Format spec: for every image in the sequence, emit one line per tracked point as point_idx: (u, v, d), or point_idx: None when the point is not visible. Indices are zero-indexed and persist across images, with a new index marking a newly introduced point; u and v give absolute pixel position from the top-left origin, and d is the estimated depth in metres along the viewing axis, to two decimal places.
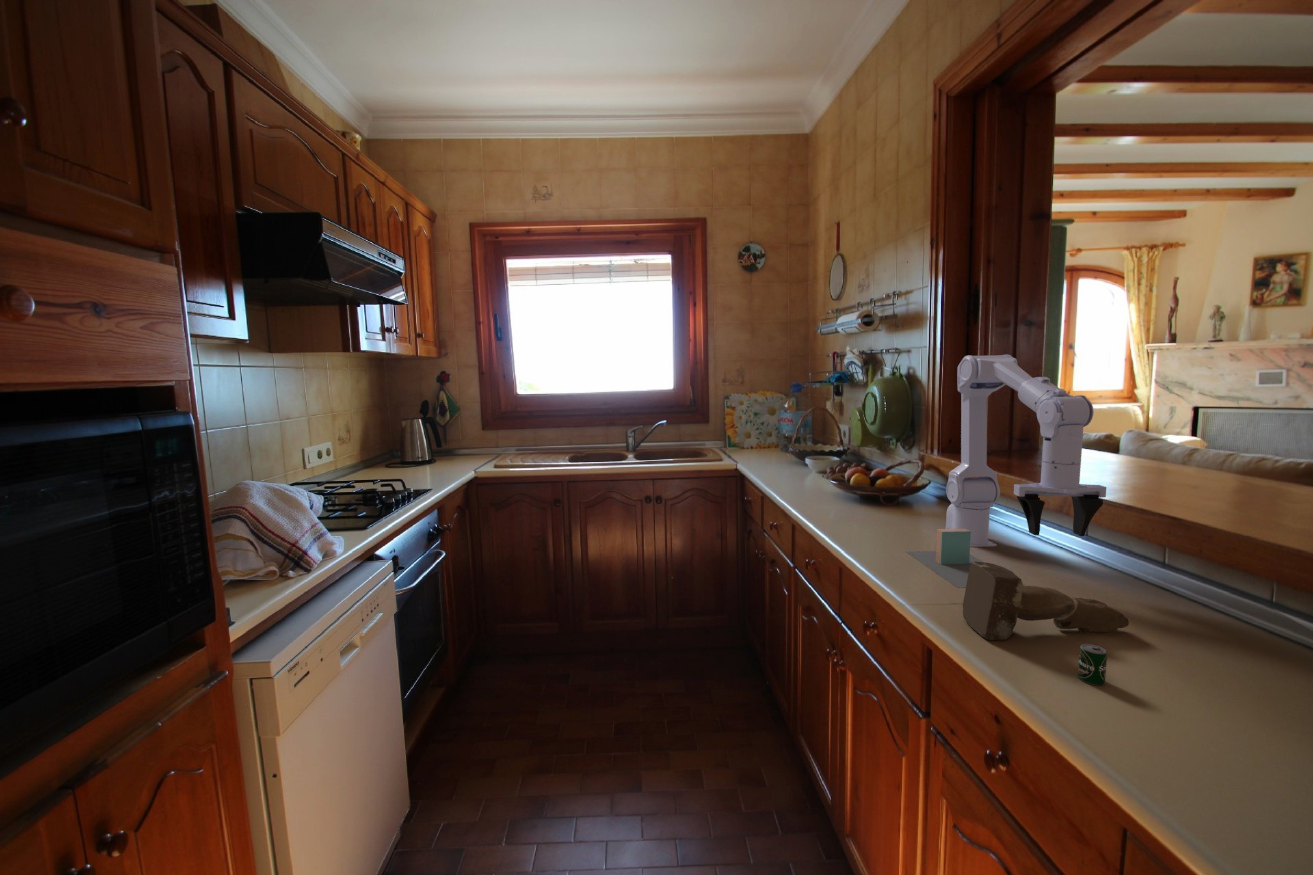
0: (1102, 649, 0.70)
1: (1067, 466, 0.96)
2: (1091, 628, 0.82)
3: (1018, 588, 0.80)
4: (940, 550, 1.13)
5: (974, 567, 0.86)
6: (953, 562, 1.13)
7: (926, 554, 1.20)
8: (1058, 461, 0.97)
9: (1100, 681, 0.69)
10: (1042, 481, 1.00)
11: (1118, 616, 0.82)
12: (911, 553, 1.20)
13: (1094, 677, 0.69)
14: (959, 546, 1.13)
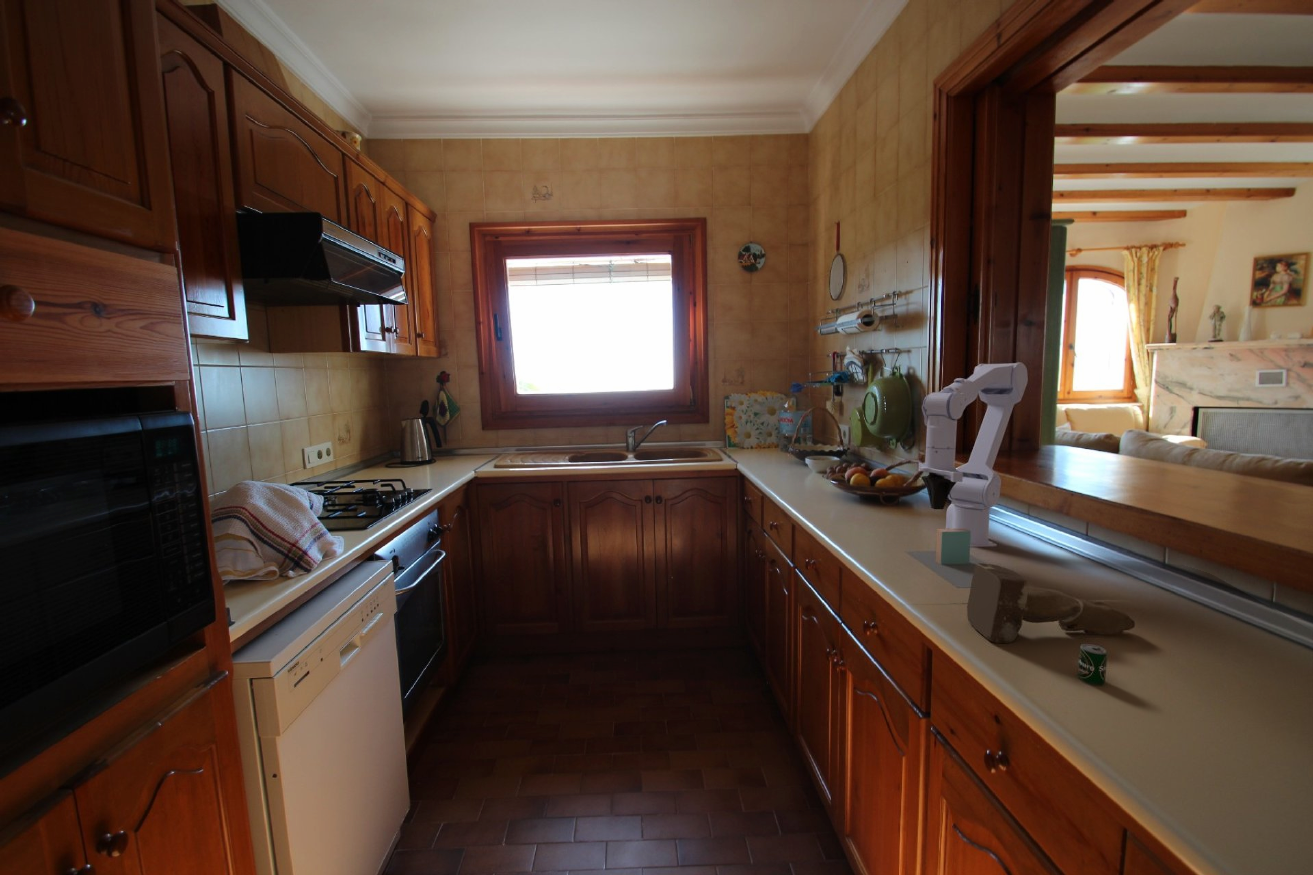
0: (1102, 649, 0.70)
1: (926, 448, 1.18)
2: (1097, 630, 0.82)
3: (1023, 590, 0.79)
4: (940, 550, 1.13)
5: (979, 569, 0.85)
6: (953, 562, 1.13)
7: (926, 554, 1.20)
8: (926, 445, 1.19)
9: (1100, 681, 0.69)
10: None
11: (1124, 618, 0.81)
12: (911, 553, 1.20)
13: (1094, 677, 0.69)
14: (959, 546, 1.13)
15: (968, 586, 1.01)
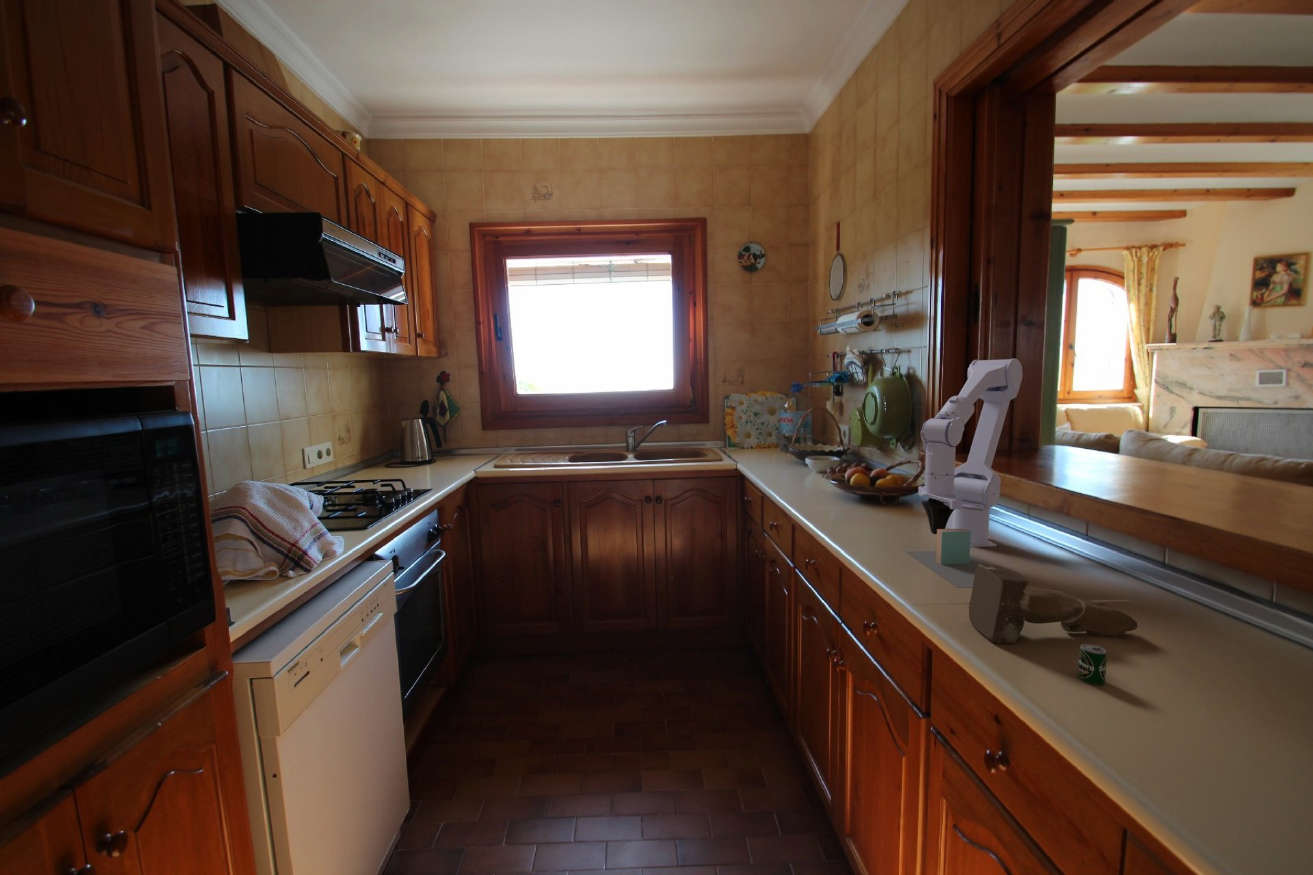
0: (1102, 649, 0.70)
1: (925, 474, 1.19)
2: (1099, 631, 0.81)
3: (1026, 591, 0.79)
4: (940, 550, 1.13)
5: (980, 569, 0.85)
6: (953, 562, 1.13)
7: (926, 554, 1.20)
8: (925, 470, 1.19)
9: (1100, 681, 0.69)
10: None
11: (1126, 619, 0.81)
12: (911, 553, 1.20)
13: (1094, 677, 0.69)
14: (959, 546, 1.13)
15: (968, 586, 1.01)
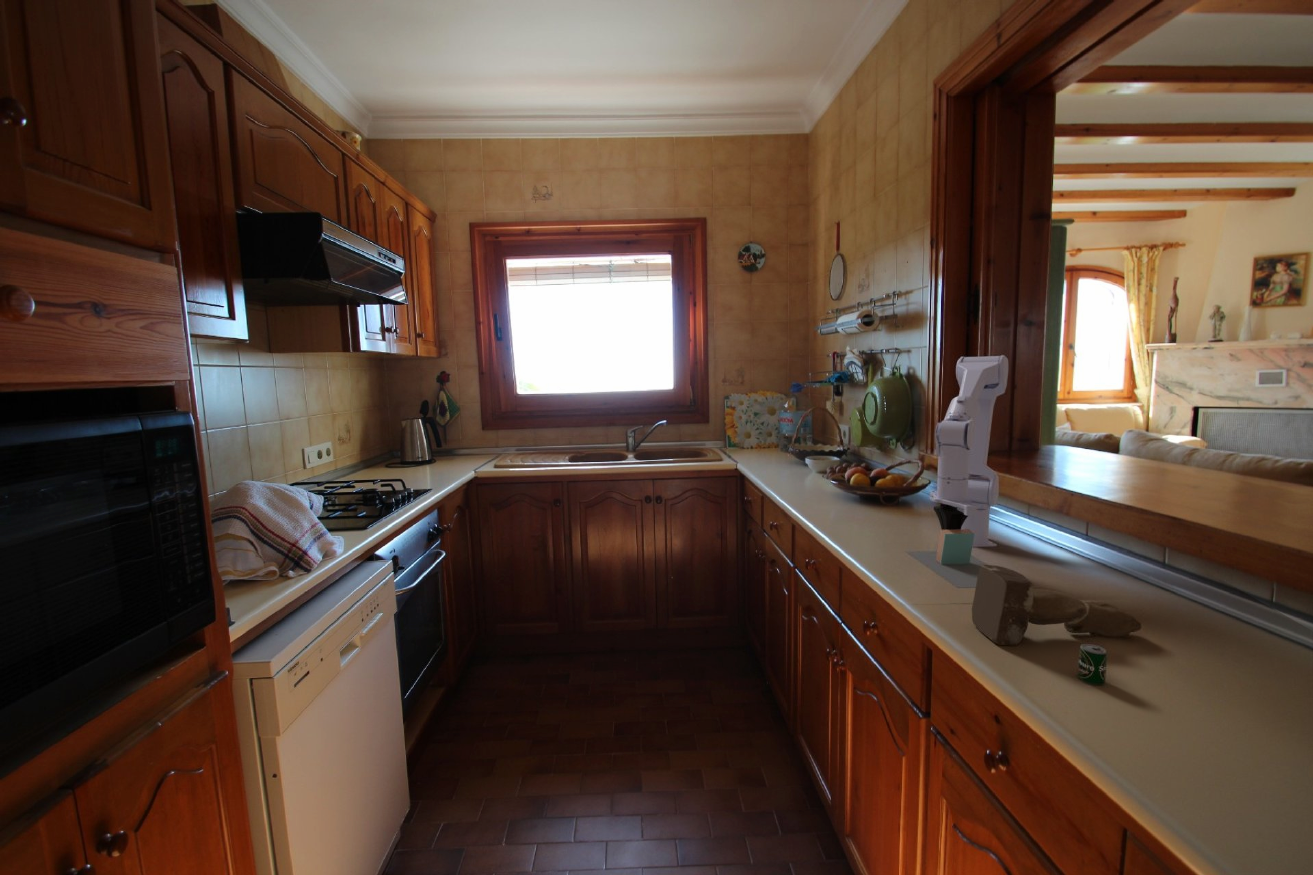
0: (1102, 649, 0.70)
1: (938, 478, 1.14)
2: (1103, 632, 0.81)
3: (1029, 592, 0.79)
4: (941, 551, 1.13)
5: (984, 570, 0.84)
6: (953, 562, 1.13)
7: (926, 554, 1.20)
8: (939, 475, 1.13)
9: (1100, 681, 0.69)
10: None
11: (1130, 620, 0.80)
12: (911, 553, 1.20)
13: (1094, 677, 0.69)
14: (960, 547, 1.12)
15: (968, 586, 1.01)
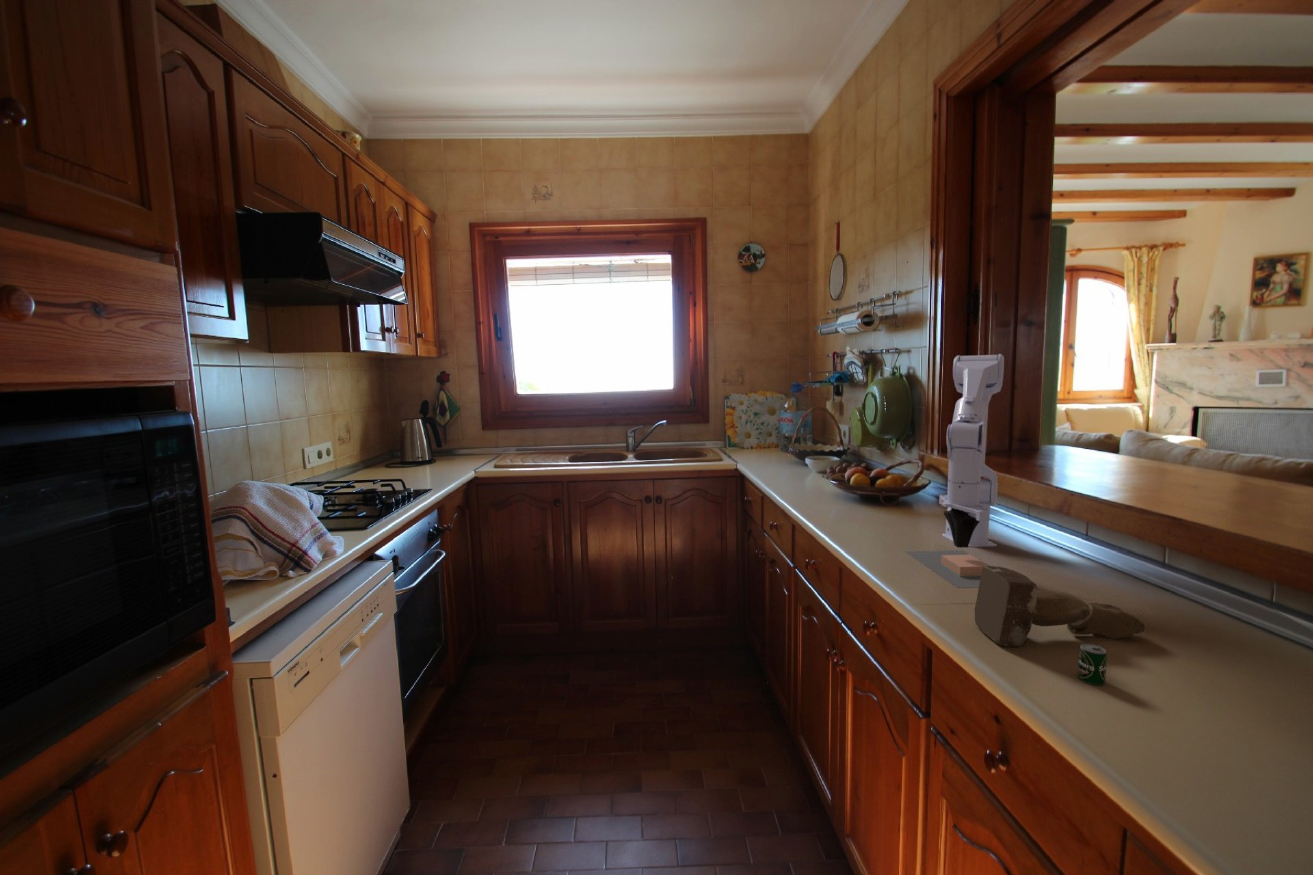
0: (1102, 649, 0.70)
1: (948, 482, 1.10)
2: (1106, 634, 0.81)
3: (1033, 593, 0.78)
4: (948, 567, 1.10)
5: (987, 571, 0.84)
6: None
7: (926, 554, 1.20)
8: (951, 479, 1.09)
9: (1100, 681, 0.69)
10: None
11: (1134, 622, 0.80)
12: (911, 553, 1.20)
13: (1094, 677, 0.69)
14: None
15: (968, 586, 1.01)
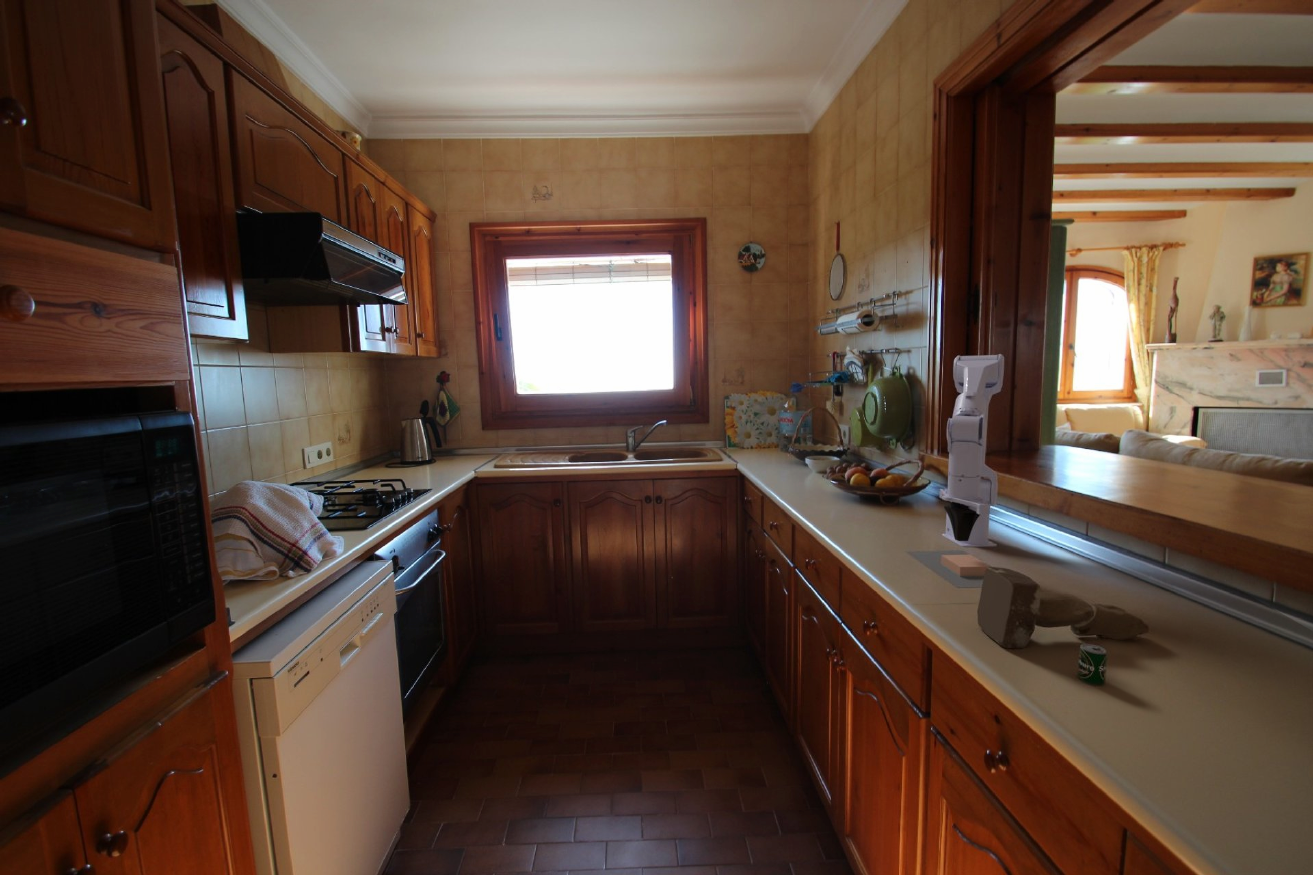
0: (1102, 649, 0.70)
1: (949, 476, 1.10)
2: (1110, 635, 0.80)
3: (1036, 594, 0.78)
4: (948, 567, 1.10)
5: (990, 572, 0.84)
6: None
7: (926, 554, 1.20)
8: (952, 473, 1.09)
9: (1100, 681, 0.69)
10: None
11: (1137, 623, 0.80)
12: (911, 553, 1.20)
13: (1094, 677, 0.69)
14: None
15: (968, 586, 1.01)
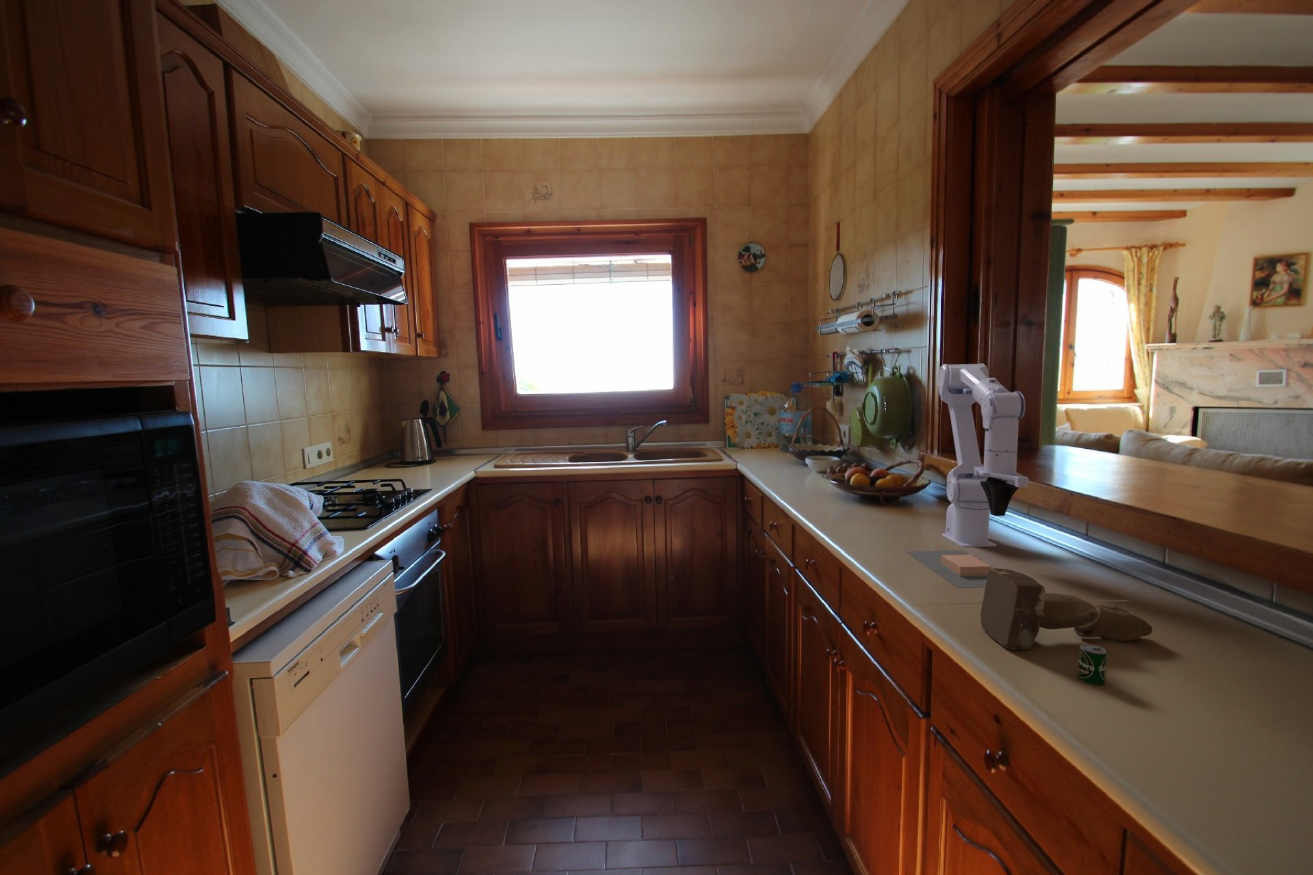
0: (1102, 649, 0.70)
1: (985, 452, 1.12)
2: (1114, 636, 0.80)
3: (1041, 596, 0.77)
4: (948, 567, 1.10)
5: (993, 574, 0.83)
6: None
7: (926, 554, 1.20)
8: (994, 449, 1.10)
9: (1100, 681, 0.69)
10: None
11: (1141, 624, 0.79)
12: (911, 553, 1.20)
13: (1094, 677, 0.69)
14: None
15: (968, 586, 1.01)
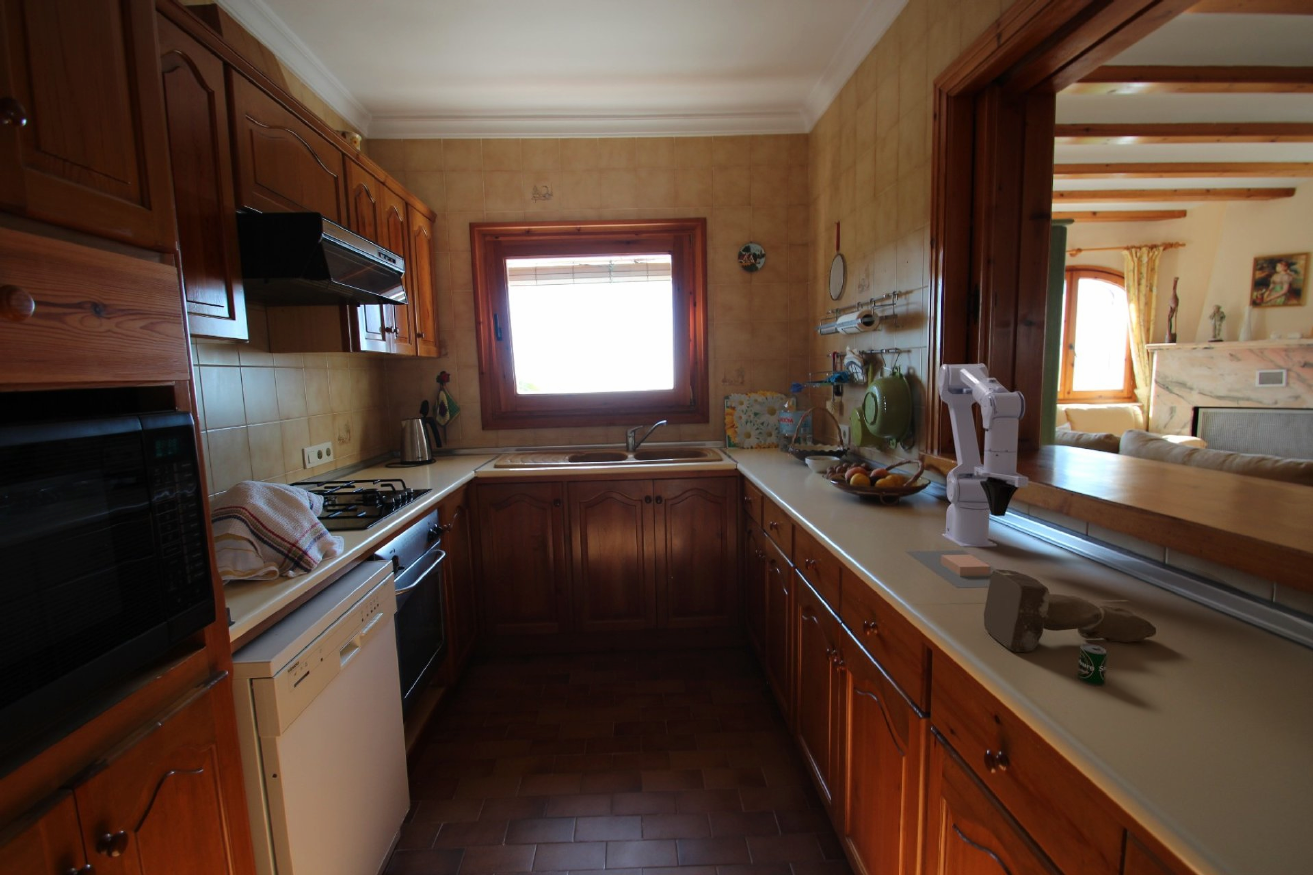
0: (1102, 649, 0.70)
1: (985, 452, 1.12)
2: (1118, 638, 0.79)
3: (1045, 597, 0.77)
4: (948, 567, 1.10)
5: (996, 575, 0.82)
6: None
7: (926, 554, 1.20)
8: (994, 449, 1.10)
9: (1100, 681, 0.69)
10: None
11: (1145, 625, 0.79)
12: (911, 553, 1.20)
13: (1094, 677, 0.69)
14: None
15: (968, 586, 1.01)
